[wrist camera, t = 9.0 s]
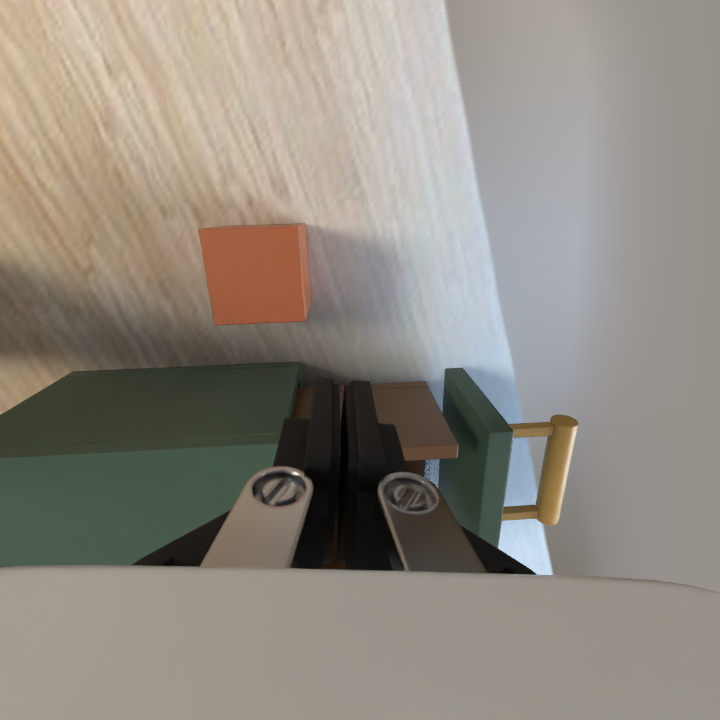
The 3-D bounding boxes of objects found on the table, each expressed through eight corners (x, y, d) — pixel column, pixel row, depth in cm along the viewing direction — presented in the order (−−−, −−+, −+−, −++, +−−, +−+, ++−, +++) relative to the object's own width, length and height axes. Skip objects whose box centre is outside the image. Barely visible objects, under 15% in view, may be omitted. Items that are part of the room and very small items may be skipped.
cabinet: (300, 361, 25) (280, 443, 16) (313, 501, 29) (302, 629, 20) (72, 371, 24) (-81, 462, 16) (118, 513, 29) (19, 650, 20)
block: (225, 226, 22) (198, 229, 18) (305, 223, 22) (298, 226, 18) (236, 304, 24) (214, 325, 19) (311, 302, 24) (306, 321, 19)
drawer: (542, 363, 25) (625, 424, 18) (522, 491, 29) (584, 584, 22) (254, 377, 24) (218, 446, 17) (272, 506, 28) (249, 608, 21)
